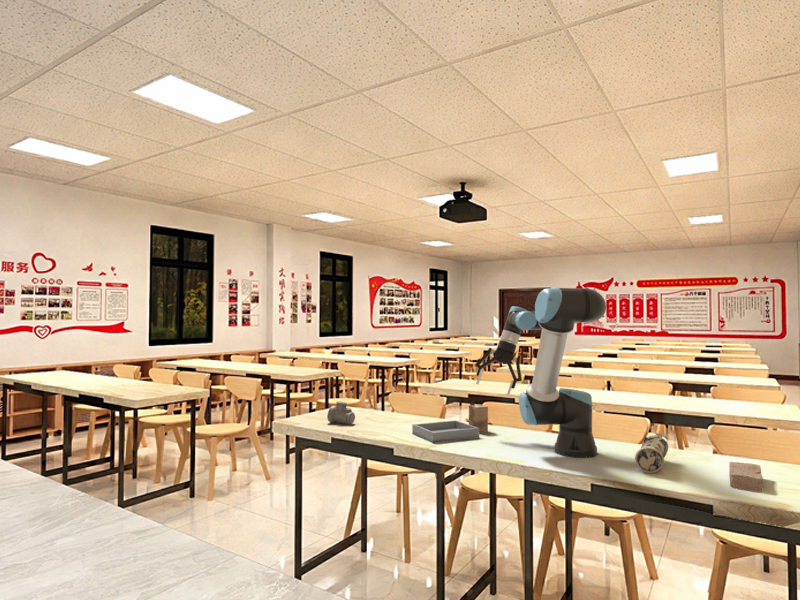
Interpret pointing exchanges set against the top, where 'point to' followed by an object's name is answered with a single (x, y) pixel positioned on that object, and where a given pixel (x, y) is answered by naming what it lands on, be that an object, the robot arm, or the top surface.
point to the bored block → (479, 417)
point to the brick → (745, 476)
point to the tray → (445, 431)
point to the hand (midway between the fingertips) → (492, 389)
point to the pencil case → (652, 454)
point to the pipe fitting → (341, 413)
